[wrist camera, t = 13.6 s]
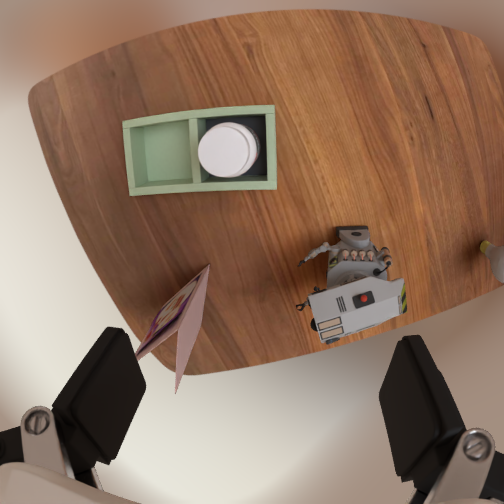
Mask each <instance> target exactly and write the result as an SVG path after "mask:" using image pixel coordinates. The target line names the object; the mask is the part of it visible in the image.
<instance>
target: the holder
mask: <svg viewBox="0 0 504 504" xmlns="http://www.w3.org/2000/svg"><path fill="white" fill-rule="evenodd" d="M227 122H232V123H237V124H242V125H246V126H248V127H250V128H251V129H252V130H253V131H254V132H255V133H256V134H257V136H258V138H259V140H260V146H261V147H260V154H259V156H258V158H257V160H256V161H255V162H254V164H253V165H252V166H251V167H250V168H249V169H248V170H247V171H246V172H245V173H243V174H241V175H239V176H236V177H231V178H225V177H219V176H215V175H212V174H210V173H209V172H207V171H206V170H205V169H204V168H203V166H202V165H201V163H200V161H199V157H198V147H199V143H200V141H201V139H202V137H203V136H204V135H205V134H206V133H207V132H208V131H209V130H210V129H211V128H212V127H214V126H216V125H218V124H221V123H227ZM123 138H124V149H125V160H126V169H127V178H128V186H129V194H130V196H136V195H149V194H164V193H180V192H200V191H225V190H276V189H277V155H276V120H275V106H274V105H253V106H234V107H220V108H208V109H198V110H190V111H181V112H174V113H167V114H160V115H154V116H148V117H142V118H137V119H131V120H126V121H123Z"/></svg>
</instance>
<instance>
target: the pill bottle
mask: <svg viewBox="0 0 504 504" xmlns="http://www.w3.org/2000/svg"><path fill="white" fill-rule="evenodd" d="M260 147H261V146H260V140H259V138H258V136H257V134H256V133H255V132H254V131H253V130H252V129H251V128H250V127H248V126H246V125H242V124H237V123H232V122H227V123H221V124H218V125H216V126H214V127H212V128H211V129H210V130H209V131H208V132H207V133H206V134H205V135H204V136H203V137H202V139H201V141H200V143H199V147H198V157H199V161H200V163H201V165H202V166H203V168H204V169H205V170H206V171H207V172H209V173H210V174H212V175H215V176H219V177H225V178H231V177H236V176H239V175H241V174H243V173H245V172H246V171H247V170H248V169H249V168H250V167H251V166H252V165H253V164H254V162H255V161H256V160H257V158H258V156H259V154H260Z"/></svg>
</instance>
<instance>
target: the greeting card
mask: <svg viewBox="0 0 504 504" xmlns="http://www.w3.org/2000/svg"><path fill="white" fill-rule="evenodd" d="M209 267H210V264H209V265H208V266H207V267H205V268H204V269H203V270H202V271H201V272H200V273H199V274H198V275H196V276H195V277H194V278H193V279H192V280H191V281H190V282H189V283H188V284H186V285H185V286H184V287H183V288H182V289H181V290H180V291H179V292H177V293H176V294H175V295H174V296H173V297H172V298H171V299H170V300H169V301H168V302H166V303H165V304H164V305H163V307H162V309H161V310H160V311H159V313H158V314H157V316H156V317H155V319H154V321H153V323H152V325H151V327H150V329H149V330H148V332H147V334H146V336H145V337H144V339H143V341H142V343H141V345H140V346H139V348H138V349H137V351H136V353H135V356H136V358H137V361H138V360H140V359H141V358H142V357H143V356H145V355H146V354H147V353H149V352H150V351H151V350H153V349H154V348H155V347H156V346H158V345H159V344H160V343H162V342H163V341H164V340H165V339H167V338H168V337H169V336H171V335H172V334H173V333H174V332H176V331H177V330H178V343H177V360H176V381H175V394H176V391H177V389H178V386H179V383H180V380H181V378H182V375H183V372H184V369H185V367H186V364H187V361H188V359H189V356H190V353H191V351H192V348H193V345H194V343H195V340H196V337H197V335H198V332H199V329H200V327H201V322H202V315H203V308H204V301H205V294H206V287H207V280H208V274H209Z"/></svg>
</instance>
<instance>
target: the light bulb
mask: <svg viewBox="0 0 504 504" xmlns="http://www.w3.org/2000/svg"><path fill="white" fill-rule="evenodd" d="M480 250H481V252H482V253H484V254H485V255H486V257H488V258H489V259H490V263H491V268H492V272H493V274H494V276H495V277H496V279H498V280H499V281H500V282H502V283H504V245H503V246H499V247H496V246H495V245H493V244H491V243H489V242H488V241H483V242H482V243H481V245H480Z"/></svg>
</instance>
